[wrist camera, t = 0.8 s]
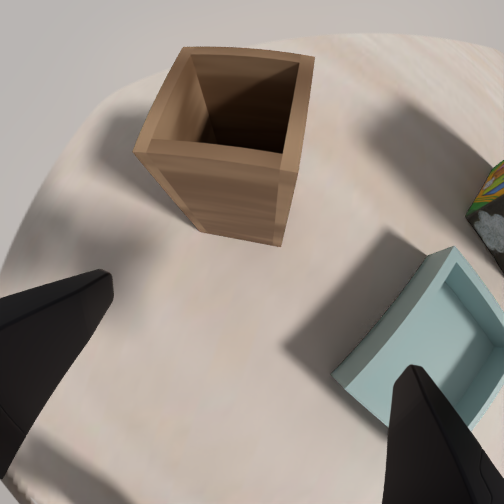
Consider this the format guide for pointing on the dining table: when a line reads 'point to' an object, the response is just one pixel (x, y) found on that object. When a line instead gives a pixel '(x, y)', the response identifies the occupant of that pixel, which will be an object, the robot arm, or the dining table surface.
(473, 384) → the teal square tray
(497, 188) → the chalk box
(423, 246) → the dining table surface
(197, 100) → the brown tall open box
